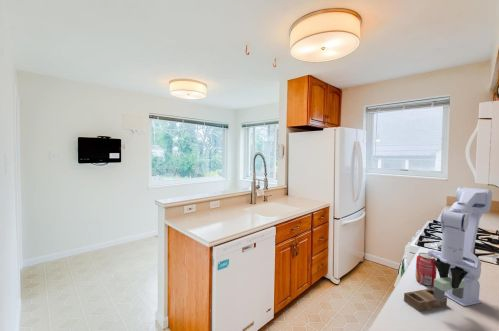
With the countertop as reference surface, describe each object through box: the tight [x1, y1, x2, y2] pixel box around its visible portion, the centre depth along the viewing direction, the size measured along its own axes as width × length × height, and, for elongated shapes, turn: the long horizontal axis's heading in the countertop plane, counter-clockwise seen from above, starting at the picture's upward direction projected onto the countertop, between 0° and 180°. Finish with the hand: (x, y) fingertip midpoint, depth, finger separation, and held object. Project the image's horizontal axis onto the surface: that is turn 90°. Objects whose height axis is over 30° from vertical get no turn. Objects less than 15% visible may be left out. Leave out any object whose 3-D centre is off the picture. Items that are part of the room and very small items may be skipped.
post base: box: [403, 288, 448, 312], centre depth 87 cm, size 13×6×3 cm, turn 105°
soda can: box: [415, 252, 438, 287], centre depth 101 cm, size 7×7×12 cm
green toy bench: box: [433, 276, 465, 302], centre depth 81 cm, size 10×3×6 cm, turn 105°
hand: (449, 284), depth 81 cm, fingers closed on green toy bench, 3 cm apart
